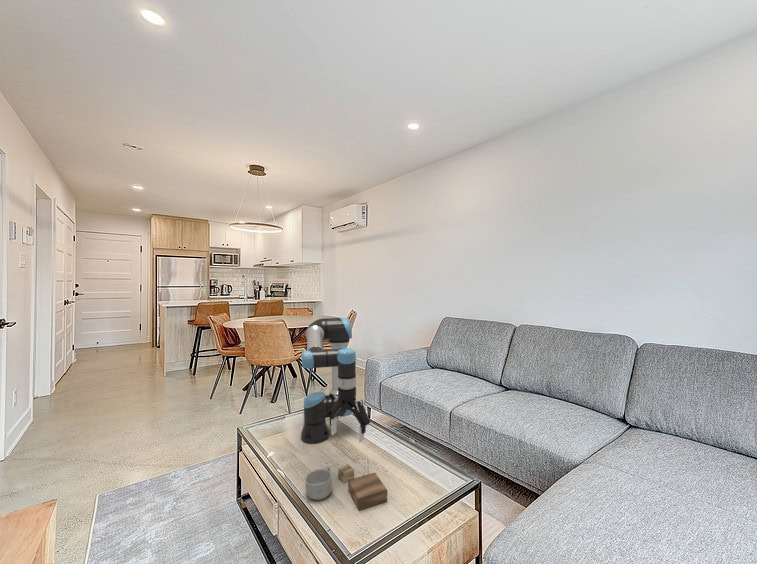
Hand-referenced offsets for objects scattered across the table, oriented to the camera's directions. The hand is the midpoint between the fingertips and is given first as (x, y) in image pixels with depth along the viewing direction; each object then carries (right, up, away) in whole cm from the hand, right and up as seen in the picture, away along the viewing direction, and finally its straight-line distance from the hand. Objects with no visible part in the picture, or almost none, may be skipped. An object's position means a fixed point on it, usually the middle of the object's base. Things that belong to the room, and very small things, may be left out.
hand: (347, 436), depth 137 cm
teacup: (-11, -22, -2) cm, 25 cm away
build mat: (+8, -22, -4) cm, 24 cm away
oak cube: (-1, -22, +7) cm, 23 cm away
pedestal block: (+8, -21, -6) cm, 24 cm away
